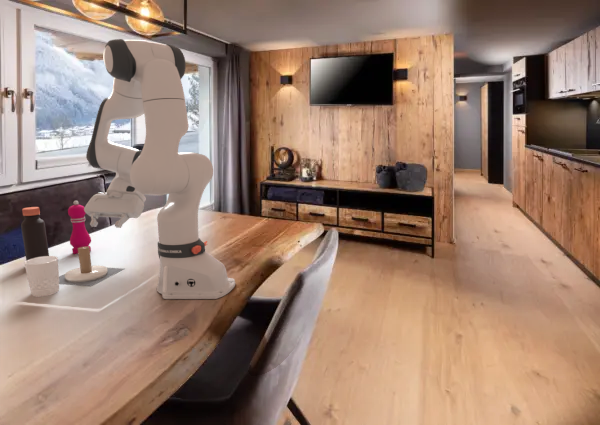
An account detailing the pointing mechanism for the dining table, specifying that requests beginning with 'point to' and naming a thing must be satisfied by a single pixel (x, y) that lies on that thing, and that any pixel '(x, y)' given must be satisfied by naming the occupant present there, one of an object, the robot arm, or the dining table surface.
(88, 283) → the slate mat
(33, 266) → the white cup
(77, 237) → the pepper mill
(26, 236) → the bottle
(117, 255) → the dining table surface
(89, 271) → the lid
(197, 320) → the dining table surface
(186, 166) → the robot arm
